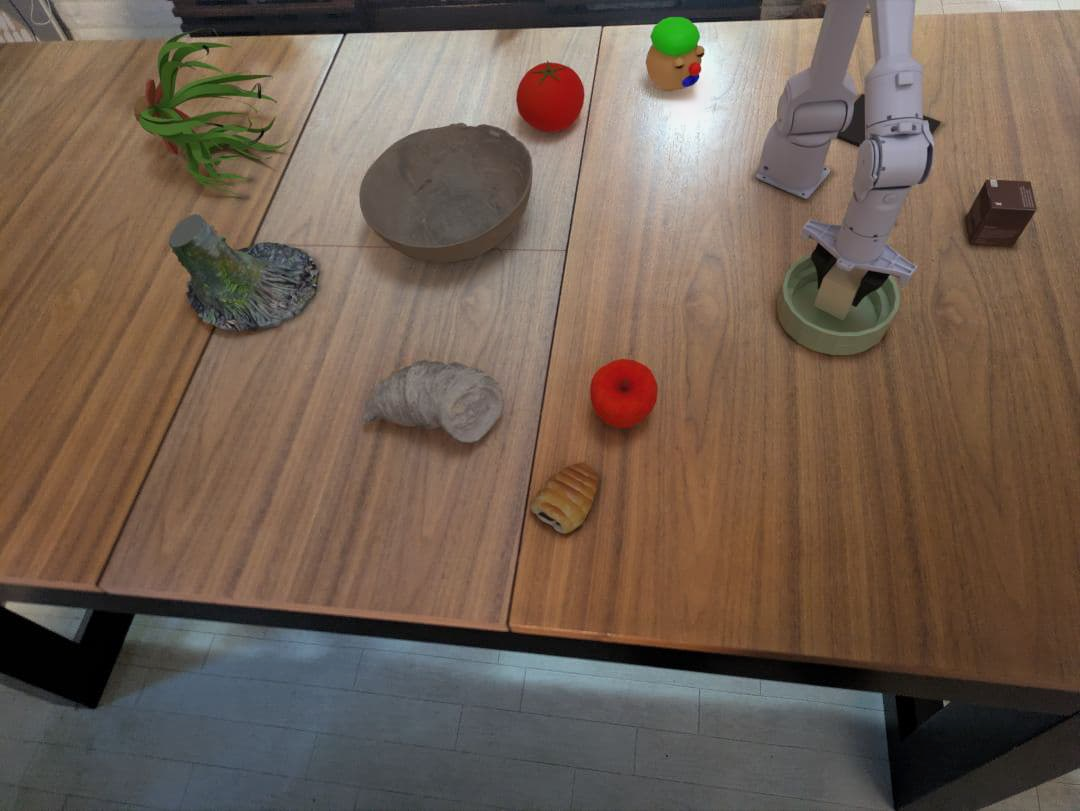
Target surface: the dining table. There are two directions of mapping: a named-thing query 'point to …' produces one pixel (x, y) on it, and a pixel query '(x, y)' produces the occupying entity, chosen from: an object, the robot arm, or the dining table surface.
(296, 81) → the dining table surface
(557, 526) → the pastry
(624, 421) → the apple
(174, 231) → the tree stump
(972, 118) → the dining table surface
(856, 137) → the mat
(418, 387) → the seashell
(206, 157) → the decorative plant
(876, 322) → the green bowl
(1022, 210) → the box
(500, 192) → the bowl
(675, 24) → the figurine
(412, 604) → the dining table surface
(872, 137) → the robot arm
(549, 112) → the tomato
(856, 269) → the block
